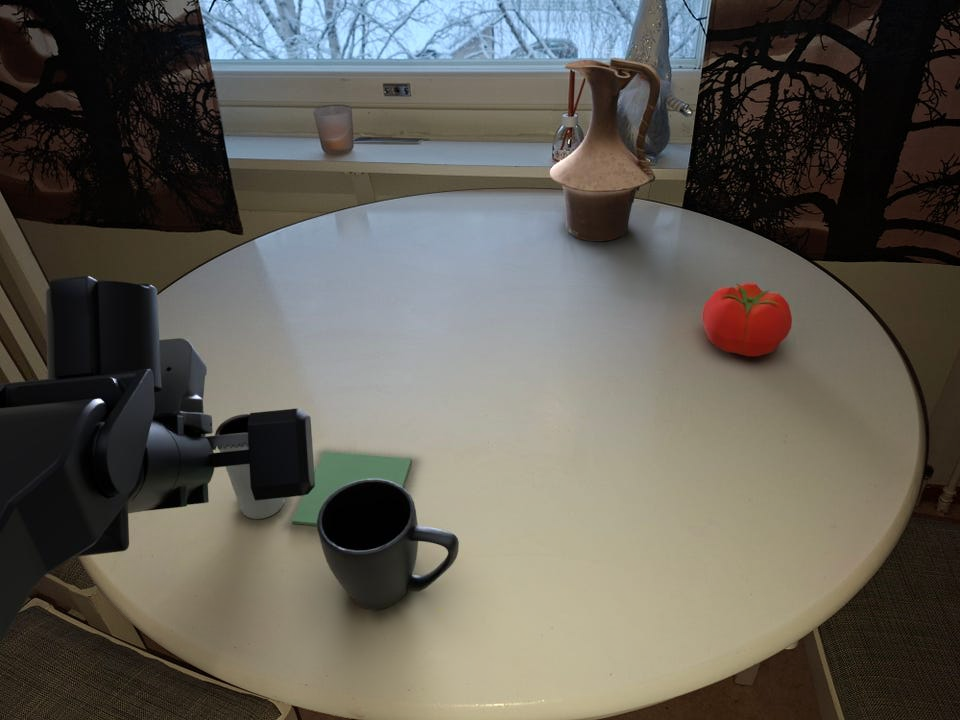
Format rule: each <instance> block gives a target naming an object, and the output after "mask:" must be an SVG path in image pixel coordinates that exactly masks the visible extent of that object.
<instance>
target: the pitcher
mask: <svg viewBox="0 0 960 720" xmlns="http://www.w3.org/2000/svg"><path fill="white" fill-rule="evenodd" d="M564 69H565V70H571V71H573V72H576V73H578V74H579V75H580V76H582V77H583V78H584V79H585V81H586V83H587V85H588V86H589V90H590V95H591V118H590V123H589V126H588V130H587V133H586V135H585V136H584V138H583V140H582V141H581V143H580V144H579V146H577V148H576V149H574V151H572V152H571V153H570V154H569V155H567V156H566V157H565V158H563V159H561V160H560V161H558V162H557V163H555V164H554V165H553V166H552V167H551V168H550V170H549V177H550V179H551V180H553V182H556V183H557V184H558V185H560V186H562V190H563V195H564V197H563V198H564V207H565V217H566V219H565V229H566V231H567V232H568V234H570V235H571V236H573V237H575V238H576V239H577V238H578V239H580V240H585V241H592V242H604V241H605V242H606V241H612V240H615V239H617V238H620V237H622V236H624V235H625V234H626V233H627V232H628V230H629V223H630V222H629V221H630V215H631V211H632V206H633V204H634V201H635V197H636V194H637V192H639V190H640V188H641V187H643V186H646V185H647V184H651V183H653V182H654V181H655V180H656V175H655V174H654V170H653V169H652V168H651V167H650V164H649V163H648V161H647V157H646V153H645V145H646V144H645V143H646V138H647V134H648V131H649V128H650V124H651V121H652V118H653V115H654V113H655V111H656V107H657V105H658V103H659V97H660V94H661V80H660V77H659V75H658V73H657V71H656V70H655V69H654V68H653V66H651V65H649V64H646V63H643V62H639V61H631V60H626V59H622V58H617V57H611V58H610V62H609V63H606V62H604V61H603V62H602V61H599V60H595V59H580V60H575V61H572V62H571V61H570V62H568V63H565V65H564ZM637 75H640V76H643V77H644V78H645V79H646V80H647V82H648V86H649V87H648V88H649V91H648V93H649V94H648V98H647V102H646V105H645V107H644V110H643V113H642V117H641V119H640V122H639V125H638V128H637V130H638V131H637V133H636V138H635V147H634V148H635V154H633V153H632V152H631V151H630V149H628V148H627V146H626V144H624V142H623V139H622V137H621V135H620V131H619V127H618V105H619V104H618V103H619V97H620V95H621V91H622V90H624V89H626V88H627V86H628V85H629V84H631V82H632V81H633V80H634V78H635V77H636V76H637Z"/></svg>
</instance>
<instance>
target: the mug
mask: <svg viewBox="0 0 960 720" xmlns="http://www.w3.org/2000/svg"><path fill="white" fill-rule="evenodd" d="M316 528H317V529H316V530H317V535H318V538H319V542H320V545H321V550H322V553H323V555H324V558H325V561H326V563H327V565H328V567H329V570H330V571H331V573H332V574H333V576H334V578H335V579H336V580H337V582H338V583H339V584H340V586H341V587H342V588H343V590H344V591H345V592H346V593H347V594H348V595H349V596H350V597H351V598H352V600H353V601H354V603H355V604H357V605H359V606H360V607H362V608H364V609H367V610H373V611H374V610H384V609H387V608H390V607H392V606H394V605H396V604H397V603H398V602H400V601H401V600H402V599H403V597H405V595H406V593H407V592H412V593H418V592H422V591H423V590H426V589H427V588H428V587H429V586H431V585H432V584H433V583H435V581H437V580H438V579H439V578H440V577H441V576H442V575H443V574H444V573H446V571H448V570H449V569H450V568H451V567H452V565H453V564H454V563H455V561H456V560H457V558H458V557H457V556H458V553H459V549H460V543H459V538H458V537H457V535H456V534H454V533H453V532H451V531H448V530H445V529H440V528H438V527H437V528H436V527H431V526H423V525H418V517H417V510H416V505H415V501H414V500H413V498H412V496H411V494H410V493H409V492H408V491H407V490H406V488H404V487H401V486H400V485H398V484H396V483H394V482H391V481H388V480H383V479H364V480H359V481H355V482H352V483H350V484H347V485H345V486H343V487H341V488H340V489H338V490H336V491H335V492H334V493H333V494H331V495H330V496H329V497H328V499H327V500H326V501H325V502H324V503H323V505H322V507H321V509H320V511H319V514H318V519H317V526H316ZM419 542H424V543H430V544H435V545H438V546H441V547H443V548H444V549H446V551H447V555H446V557H445V558H444V559H443V561H442V562H441V563H440V564H439V565H437V566H436V568H434V569H433V570H431V571H430V572H427V573H425V574H422V575H421V574H419V575H418V574H414V570H415V567H416V562H417V557H418V549H419Z"/></svg>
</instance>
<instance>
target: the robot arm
mask: <svg viewBox="0 0 960 720" xmlns="http://www.w3.org/2000/svg"><path fill="white" fill-rule="evenodd" d="M158 302H159V300H158V289H157V288H156V287H155V286H153V285H152V284H149V283H132V282H126V281H119V280H118V281H117V280H98V279H95V278H93V277H91V276H89V275H81V276H71V277H70V276H69V277H60V278H59V277H57V278H52V279H51V280H50V282H49V288H47V289H46V292H45V317H46V318H45V319H46V364H47V365H46V368H47V369H46V371H47V373H46V374H47V378H45V379H35V380H34V379H33V380H23V381H15V382H14V381H13V382H5V383H3V382H2V383H0V644H1V643H2V642H3V640H4V638H5V637H6V635H7V633H8V632H9V630H10V628H11V627H12V625H13V624H14V621H15V620H16V619H17V617H18V615H19V613H20V612H21V610H22V609H23V607H24V606H25V603H26V601H28V598H29V597H30V595H31V593H32V592H33V590H34V589H35V588H36V587H37V585H38V584H39V583H40V582H41V581H42V580H43V578H45V576H47V575H48V574H49V573H52V572H53V571H54V570H57V568H60V567H61V566H62V565H64V564H66V563H68V562H69V561H70V560H72V559H74V558H80V557H86V556H94V555H95V556H96V555H102V554H111V553H112V554H113V553H118V552H119V553H120V552H125V551H127V550H128V549H129V547H130V525H129V514H135V513H141V512H148V511H158V510H167V509H177V508H185V507H188V506H189V505H199V504H200V505H201V504H208V503H209V501H210V500H209V484H210V482H211V480H212V478H213V476H214V473H215V469H217V468H226V467H227V466H236V465H246V464H249V466H250V484H251V490H252V493H253V496H254V499H255V501H256V500H266V499H275V498H284V497H285V498H291V497H303V496H304V495H307V494H309V493H310V491H311V490H312V489H313V488H314V487H315V476H314V473H315V464H314V449H313V448H314V447H313V434H312V431H313V430H312V421H311V420H312V418H311V416H310V415H309V414H308V413H306V412H305V411H304V410H303V409H300V408H298V407H297V408H288V409H278V410H267V411H256V412H249V414H250V416H249V420H248V424H247V429H248V432H247V433H236V434H226V435H216V436H215V435H212V434H213V432H214V431H213V429H214V428H213V415H212V414H208V413H205V412H204V395H205V382H206V376H207V369H208V368H207V364H206V363H205V362H204V360H203V359H202V358H201V356H200V355H199V353H198V352H197V350H196V349H195V348H194V346H193V345H192V343H191V342H190V341H189V340H188V339H186V338H181V337H180V338H168V339H160V325H159V323H160V322H159V305H158V304H159V303H158ZM206 435H207V436H206ZM239 444H240V446H241V447H244V444H246V447H249V449H248V450H238V451H229V452H220V451H219V452H214V451H216V450H217V449H218V450H219V449H222V445H223V448H224V449H227V447H228V446H229V448H233V445H234V446H235V448H238V446H239Z"/></svg>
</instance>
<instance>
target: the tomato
mask: <svg viewBox="0 0 960 720" xmlns="http://www.w3.org/2000/svg"><path fill="white" fill-rule="evenodd" d="M736 285H737V286H734V287H733V286H723V287H720V288H719V289H717V290H715V291H714V292H713V294H712V295H711V296H710V297H709V298H708V299H707V301H706V302H705V303H704V306H703V308H702V315H701V316H702V317H701V319H702V324H703V327H704V330H705V333H706V337H707V339H708V341H710V343H712V344H713V345H714V346H715V347H716V348H718V349H720V350H722V351H724V352H726V353H732V354H737V355H741V356H745V357H761V356H763V355H766V354H770V353H773V352H774V351H775V350H776V349H777V348H778V346H779V345H780V344H781V343H782V342H783V341H784V340H785V339H786V338H787V337H788V335H789V334H790V332H791V330H792V323H793V322H792V321H793V317H792V312H791V308H790V305H789V303H788V301H787V300H786V299H785V298H784V296H783V295H781V294H780V293H777V292H770V291H771V289H768V290H764V291H763V290H762V289H761V288H760V287H759V286H758V284H757V283H756V282H744V283H741V284H738V283H736Z"/></svg>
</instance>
